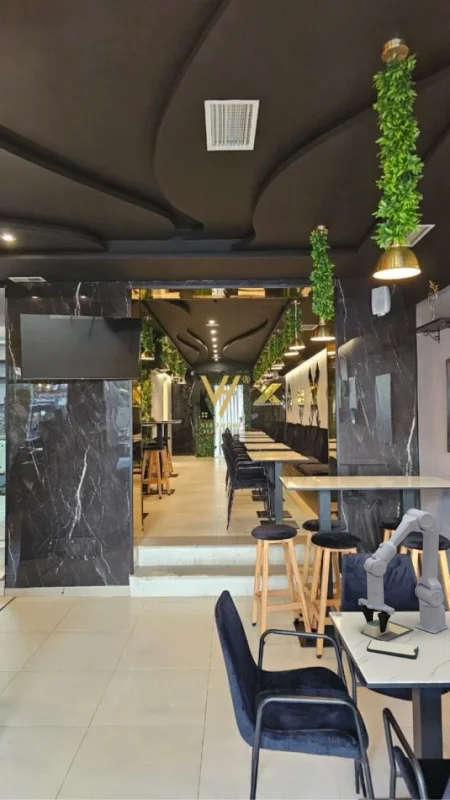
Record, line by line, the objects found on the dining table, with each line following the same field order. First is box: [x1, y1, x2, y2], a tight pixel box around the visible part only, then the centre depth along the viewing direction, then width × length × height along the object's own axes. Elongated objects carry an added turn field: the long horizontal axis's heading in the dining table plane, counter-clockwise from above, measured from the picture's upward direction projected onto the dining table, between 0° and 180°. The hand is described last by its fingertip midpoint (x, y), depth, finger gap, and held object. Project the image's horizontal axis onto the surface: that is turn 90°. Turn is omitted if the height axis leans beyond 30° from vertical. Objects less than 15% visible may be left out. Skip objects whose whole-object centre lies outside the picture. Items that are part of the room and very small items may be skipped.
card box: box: [363, 618, 389, 637], centre depth 189 cm, size 8×5×3 cm, turn 126°
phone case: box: [366, 639, 420, 660], centre depth 176 cm, size 9×2×16 cm
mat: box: [360, 620, 414, 642], centre depth 191 cm, size 17×10×1 cm, turn 126°
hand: (376, 629), depth 189 cm, fingers closed on card box, 5 cm apart
